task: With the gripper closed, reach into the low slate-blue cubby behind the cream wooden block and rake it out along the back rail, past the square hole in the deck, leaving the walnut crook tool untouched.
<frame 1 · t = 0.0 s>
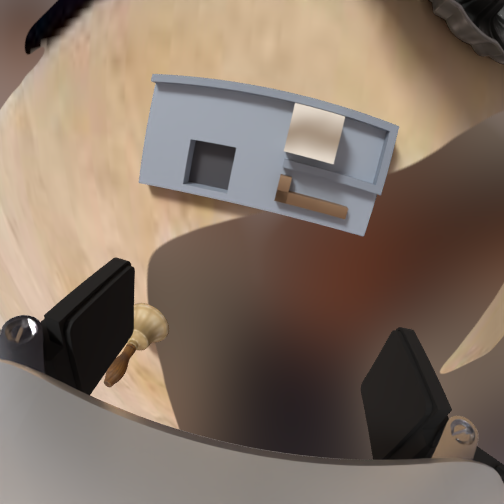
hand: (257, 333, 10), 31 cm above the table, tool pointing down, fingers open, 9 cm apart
deck: (262, 148, 37), on the table
hand bell: (148, 322, 50), on the table
crook tool: (311, 202, 36), point 2 cm above the table, touching deck
bundt pan: (468, 4, 23), on the table
cream block: (311, 134, 33), point 2 cm above the table, touching deck
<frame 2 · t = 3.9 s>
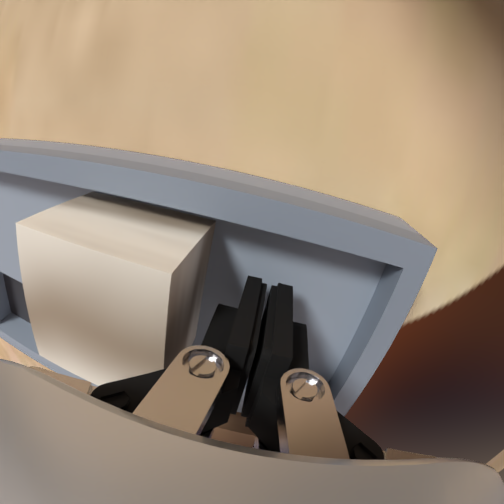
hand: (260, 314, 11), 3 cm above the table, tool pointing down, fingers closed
deck: (84, 274, 16), on the table
crook tool: (180, 403, 15), point 2 cm above the table, touching deck
cream block: (142, 267, 12), point 3 cm above the table, touching deck, gripper
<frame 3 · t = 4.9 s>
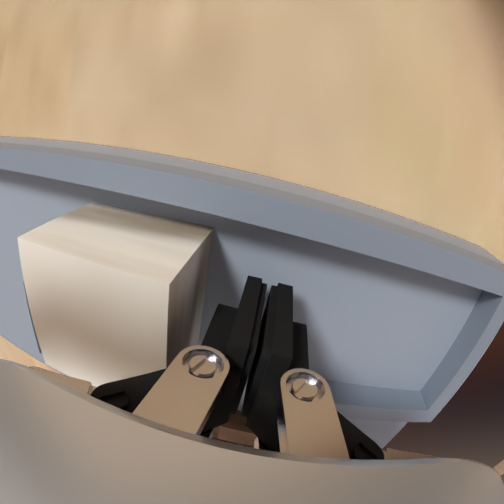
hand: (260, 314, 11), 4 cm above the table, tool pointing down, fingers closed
deck: (169, 300, 15), on the table
crook tool: (276, 425, 15), point 2 cm above the table, touching deck
cream block: (144, 275, 12), point 3 cm above the table, touching deck, gripper
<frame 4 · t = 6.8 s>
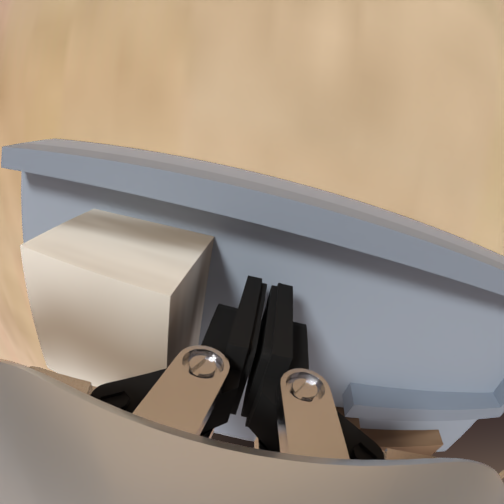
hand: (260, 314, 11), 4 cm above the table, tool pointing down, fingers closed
deck: (296, 333, 15), on the table
crook tool: (381, 435, 15), point 2 cm above the table, touching deck
cream block: (144, 281, 12), point 3 cm above the table, touching deck, gripper
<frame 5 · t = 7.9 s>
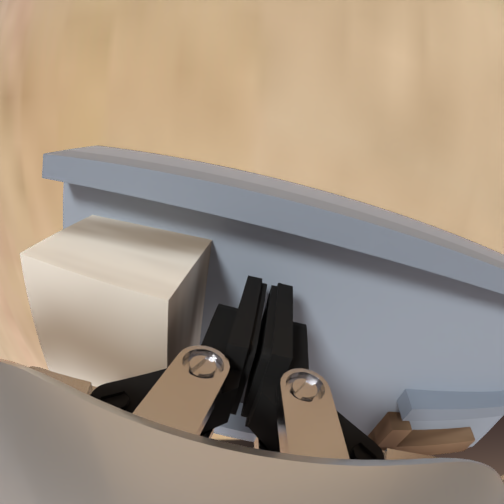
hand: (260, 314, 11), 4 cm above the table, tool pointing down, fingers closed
deck: (354, 345, 15), on the table
crook tool: (422, 435, 15), point 2 cm above the table, touching deck
cream block: (144, 285, 12), point 2 cm above the table, touching deck, gripper
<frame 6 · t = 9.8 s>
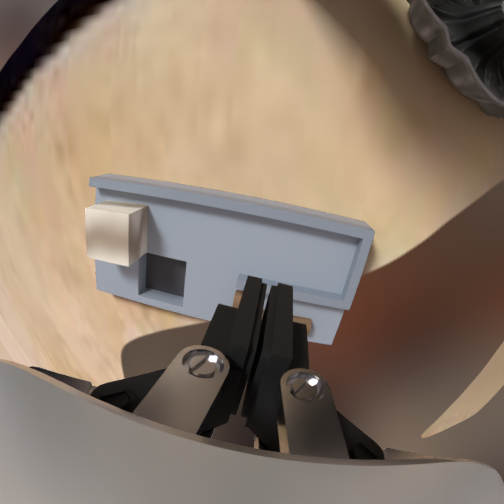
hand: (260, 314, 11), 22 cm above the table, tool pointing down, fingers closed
deck: (218, 255, 35), on the table
crook tool: (271, 316, 34), point 2 cm above the table, touching deck
bundt pan: (473, 37, 21), on the table
cream block: (126, 225, 32), point 2 cm above the table, touching deck
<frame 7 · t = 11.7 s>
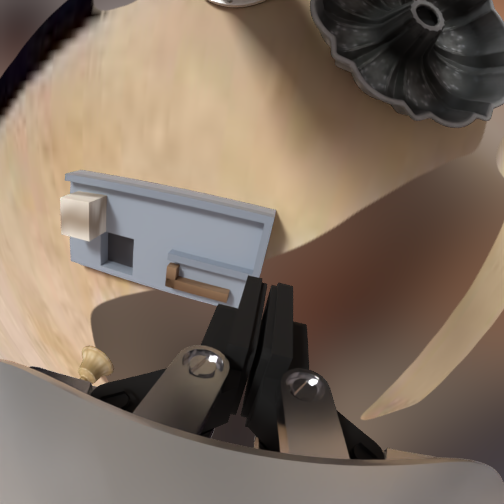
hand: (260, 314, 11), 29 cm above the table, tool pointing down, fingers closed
deck: (159, 235, 42), on the table
hand bell: (98, 360, 55), on the table
crook tool: (198, 285, 42), point 2 cm above the table, touching deck
bundt pan: (399, 38, 28), on the table
cream block: (92, 210, 39), point 2 cm above the table, touching deck
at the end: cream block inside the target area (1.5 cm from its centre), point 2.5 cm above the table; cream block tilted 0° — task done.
